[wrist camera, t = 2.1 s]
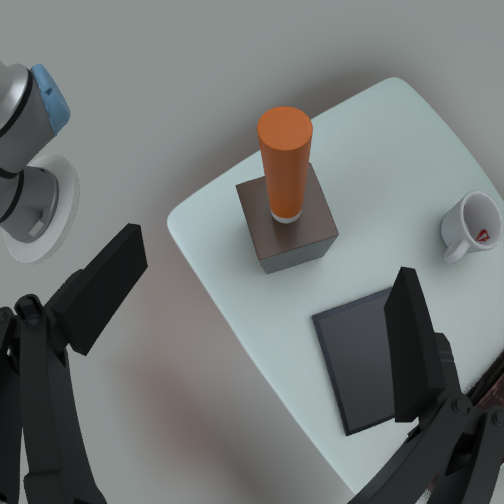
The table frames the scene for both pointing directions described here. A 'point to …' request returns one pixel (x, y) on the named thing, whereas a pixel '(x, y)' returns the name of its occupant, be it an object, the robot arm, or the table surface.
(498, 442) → the robot arm
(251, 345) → the table surface
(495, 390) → the diary
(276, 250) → the tall brown-topped block
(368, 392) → the tablet
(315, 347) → the table surface
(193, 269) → the table surface
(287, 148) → the orange cylinder
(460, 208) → the cup
